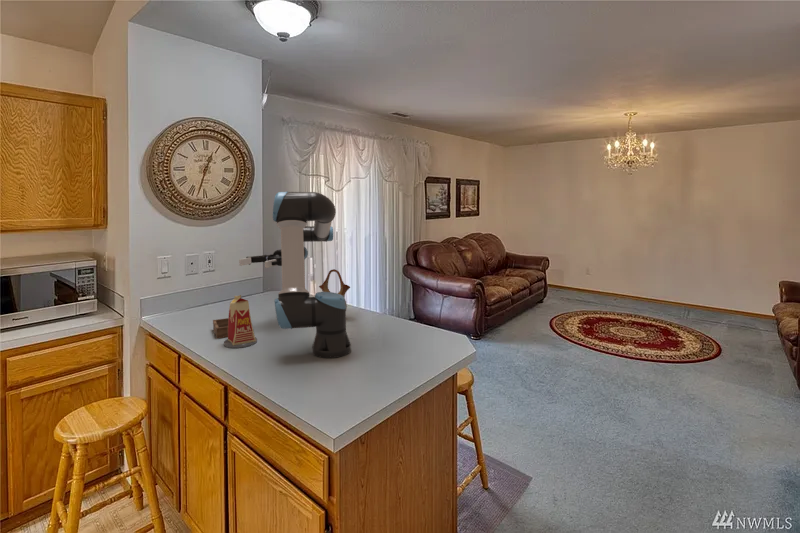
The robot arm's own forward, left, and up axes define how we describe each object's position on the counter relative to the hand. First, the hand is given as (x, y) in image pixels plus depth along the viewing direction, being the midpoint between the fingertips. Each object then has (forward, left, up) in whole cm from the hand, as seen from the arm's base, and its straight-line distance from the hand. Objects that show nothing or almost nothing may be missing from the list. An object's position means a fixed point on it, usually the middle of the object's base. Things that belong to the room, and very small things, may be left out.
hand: (252, 263), depth 178 cm
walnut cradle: (+11, +9, -32) cm, 35 cm away
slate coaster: (-6, +8, -32) cm, 33 cm away
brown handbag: (+8, -39, -32) cm, 51 cm away
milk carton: (-6, +7, -31) cm, 33 cm away
